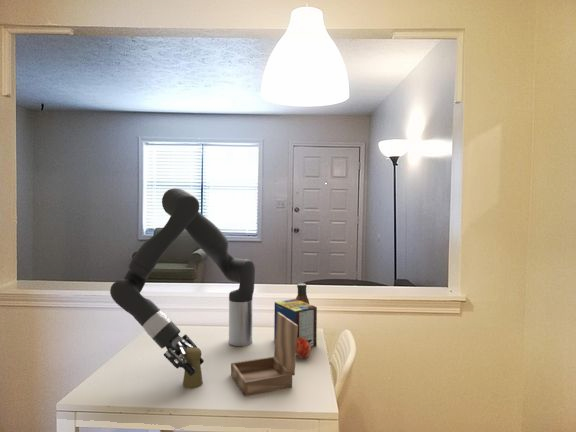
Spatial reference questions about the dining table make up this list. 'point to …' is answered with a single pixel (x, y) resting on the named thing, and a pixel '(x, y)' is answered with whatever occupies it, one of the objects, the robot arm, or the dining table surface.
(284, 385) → the walnut box
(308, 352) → the pomegranate
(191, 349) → the olive tapered rounded piece
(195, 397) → the dining table surface
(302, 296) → the sauce bottle
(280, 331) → the box lid
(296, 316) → the protein box
